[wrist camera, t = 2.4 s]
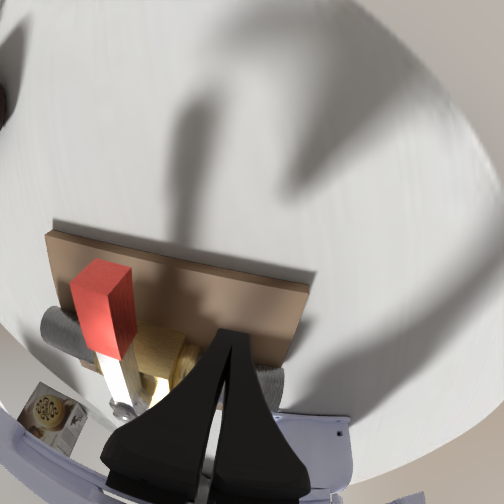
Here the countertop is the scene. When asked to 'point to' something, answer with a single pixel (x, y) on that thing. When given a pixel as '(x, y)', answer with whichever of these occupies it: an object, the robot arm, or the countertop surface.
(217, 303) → the mount board
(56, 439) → the coffee box
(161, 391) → the valve body
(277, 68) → the countertop surface
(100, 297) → the valve lever
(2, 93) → the pipe
